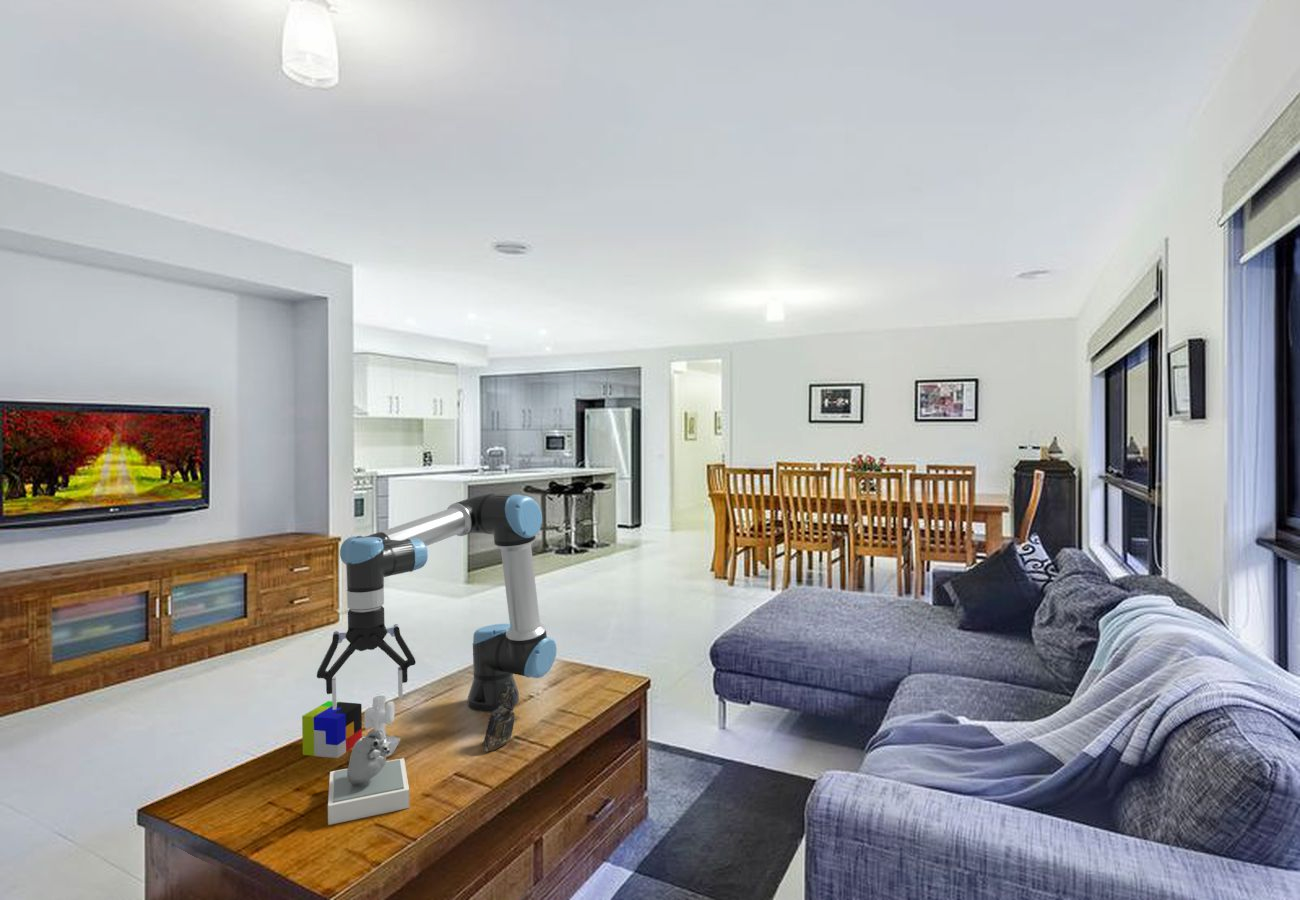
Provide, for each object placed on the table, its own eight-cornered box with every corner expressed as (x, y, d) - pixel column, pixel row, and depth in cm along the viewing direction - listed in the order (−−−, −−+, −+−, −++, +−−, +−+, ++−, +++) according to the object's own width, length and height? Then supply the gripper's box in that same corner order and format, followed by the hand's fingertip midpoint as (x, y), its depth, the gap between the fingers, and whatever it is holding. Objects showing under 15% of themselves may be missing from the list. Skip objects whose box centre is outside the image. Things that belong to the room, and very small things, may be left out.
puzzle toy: (337, 758, 172) (337, 719, 171) (302, 754, 174) (302, 716, 173) (362, 740, 181) (361, 703, 181) (328, 737, 183) (328, 701, 183)
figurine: (378, 745, 178) (377, 689, 178) (404, 753, 174) (403, 695, 173) (355, 757, 172) (354, 698, 171) (381, 765, 167) (380, 705, 167)
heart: (372, 762, 159) (363, 715, 157) (402, 770, 155) (393, 722, 153) (336, 789, 150) (326, 740, 148) (367, 799, 146) (357, 748, 144)
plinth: (404, 774, 163) (404, 756, 163) (409, 807, 148) (409, 788, 148) (330, 788, 156) (330, 770, 156) (328, 825, 142) (327, 804, 142)
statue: (475, 751, 175) (475, 693, 174) (504, 733, 185) (504, 678, 185) (493, 755, 172) (492, 696, 172) (521, 736, 183) (521, 681, 183)
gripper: (423, 597, 160) (425, 687, 160) (304, 610, 150) (306, 705, 150) (426, 605, 153) (428, 698, 154) (302, 618, 143) (304, 718, 144)
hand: (368, 702), depth 152 cm, fingers open, 13 cm apart
